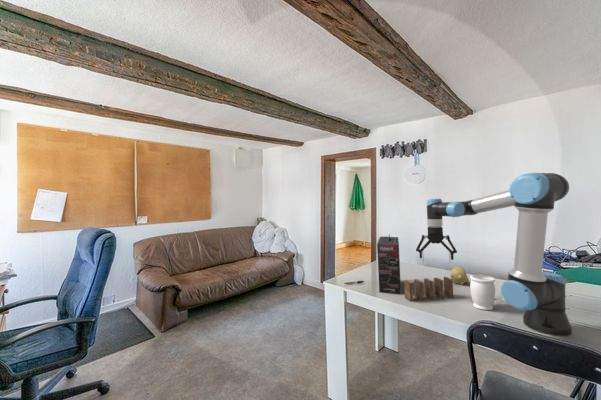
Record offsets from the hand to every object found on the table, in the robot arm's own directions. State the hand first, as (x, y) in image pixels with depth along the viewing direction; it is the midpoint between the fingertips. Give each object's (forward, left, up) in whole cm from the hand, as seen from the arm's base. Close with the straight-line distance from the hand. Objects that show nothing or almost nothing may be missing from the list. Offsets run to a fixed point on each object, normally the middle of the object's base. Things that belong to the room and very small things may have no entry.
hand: (436, 264), depth 149 cm
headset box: (+22, +17, -18) cm, 33 cm away
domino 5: (+1, -7, -18) cm, 20 cm away
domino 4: (+1, -1, -18) cm, 18 cm away
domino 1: (+1, +17, -18) cm, 25 cm away
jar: (-16, -13, -18) cm, 28 cm away
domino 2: (+1, +11, -18) cm, 21 cm away
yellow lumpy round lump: (+18, -28, -18) cm, 38 cm away
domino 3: (+1, +5, -18) cm, 19 cm away
